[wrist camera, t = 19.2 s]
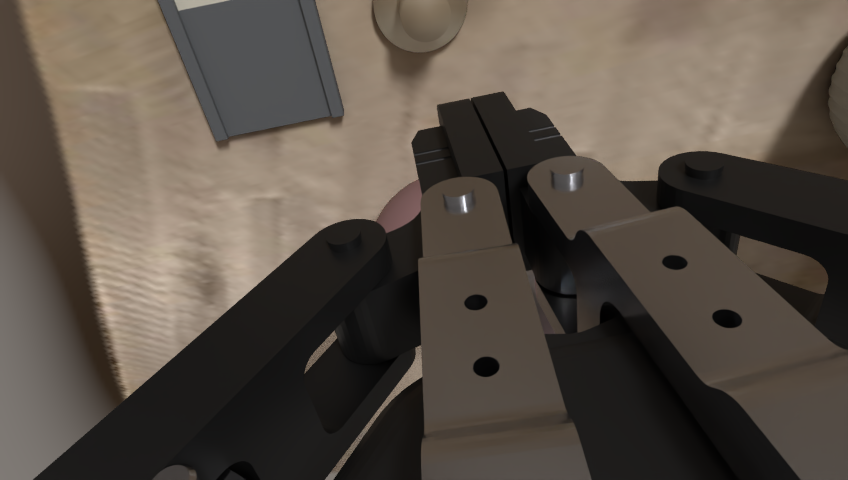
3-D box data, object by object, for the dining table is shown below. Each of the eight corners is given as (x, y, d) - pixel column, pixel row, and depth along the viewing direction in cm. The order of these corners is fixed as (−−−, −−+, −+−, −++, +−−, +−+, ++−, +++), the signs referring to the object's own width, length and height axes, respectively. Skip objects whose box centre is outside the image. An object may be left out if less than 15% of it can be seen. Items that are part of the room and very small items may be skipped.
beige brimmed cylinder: (471, 40, 39) (481, 56, 36) (383, 58, 39) (386, 75, 36) (459, -58, 35) (469, -50, 32) (363, -39, 35) (364, -28, 32)
